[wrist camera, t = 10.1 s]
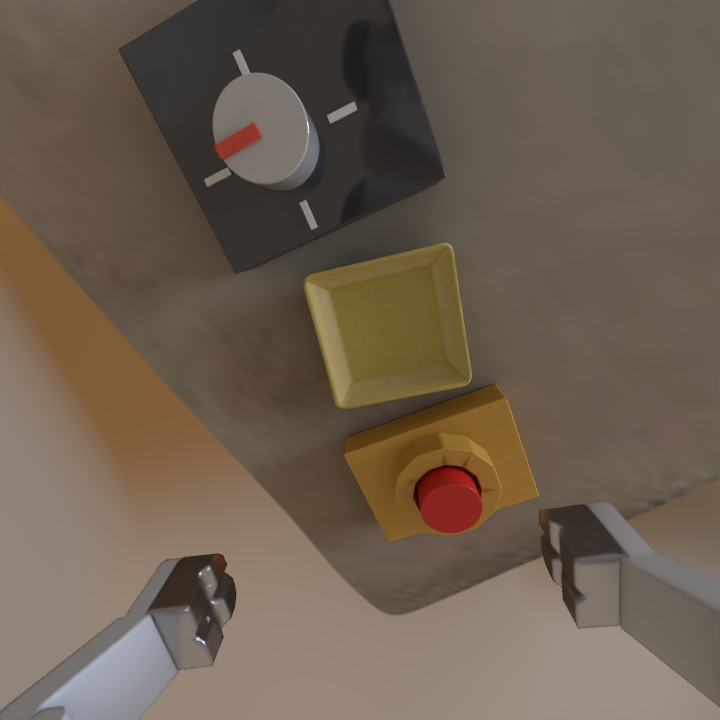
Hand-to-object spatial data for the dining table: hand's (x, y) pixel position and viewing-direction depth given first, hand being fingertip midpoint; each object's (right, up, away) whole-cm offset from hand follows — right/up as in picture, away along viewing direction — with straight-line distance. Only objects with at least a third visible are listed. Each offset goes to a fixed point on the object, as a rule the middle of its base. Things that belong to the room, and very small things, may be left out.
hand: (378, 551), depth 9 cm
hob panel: (-4, +17, +11) cm, 21 cm away
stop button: (+5, -3, +14) cm, 15 cm away
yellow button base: (+5, -2, +17) cm, 18 cm away
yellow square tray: (+1, +7, +15) cm, 16 cm away
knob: (-4, +15, +9) cm, 18 cm away
